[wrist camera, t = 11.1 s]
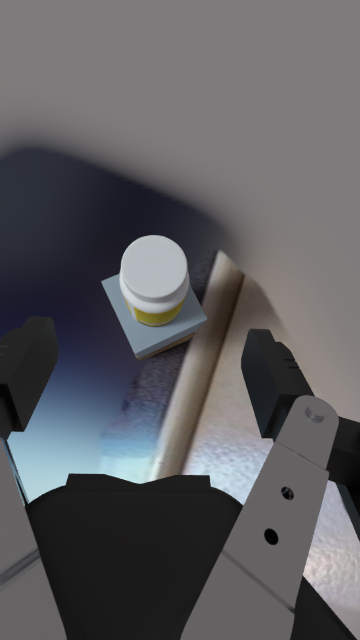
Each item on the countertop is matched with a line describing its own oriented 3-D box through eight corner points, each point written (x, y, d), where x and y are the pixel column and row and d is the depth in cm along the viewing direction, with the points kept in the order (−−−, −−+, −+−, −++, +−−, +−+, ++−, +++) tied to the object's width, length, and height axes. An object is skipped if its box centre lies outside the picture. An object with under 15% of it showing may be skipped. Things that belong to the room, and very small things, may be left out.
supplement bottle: (192, 304, 26) (210, 269, 17) (152, 339, 25) (152, 321, 16) (156, 265, 26) (157, 214, 18) (115, 299, 25) (97, 261, 17)
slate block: (168, 276, 33) (172, 251, 26) (196, 331, 32) (207, 319, 25) (112, 301, 32) (101, 281, 25) (138, 358, 31) (134, 353, 24)
